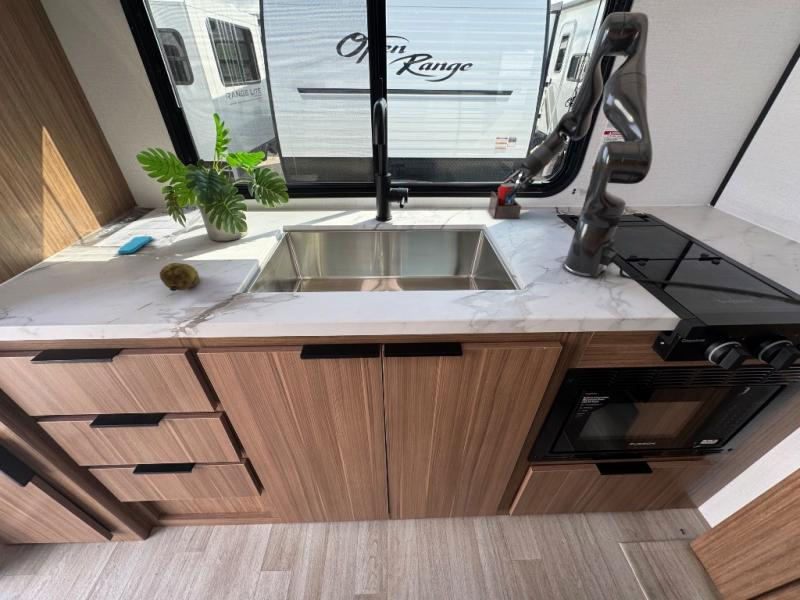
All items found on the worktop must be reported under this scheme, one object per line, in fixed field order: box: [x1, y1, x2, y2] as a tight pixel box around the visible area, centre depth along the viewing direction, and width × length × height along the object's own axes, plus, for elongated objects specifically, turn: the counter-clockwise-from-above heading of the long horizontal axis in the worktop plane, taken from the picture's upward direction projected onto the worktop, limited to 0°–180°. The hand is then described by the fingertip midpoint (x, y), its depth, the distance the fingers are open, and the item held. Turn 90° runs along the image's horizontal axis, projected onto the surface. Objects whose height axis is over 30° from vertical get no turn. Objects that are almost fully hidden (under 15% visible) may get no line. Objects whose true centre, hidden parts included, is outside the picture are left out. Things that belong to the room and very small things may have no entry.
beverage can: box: [497, 182, 517, 206], centre depth 128 cm, size 7×7×12 cm
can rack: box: [488, 191, 522, 220], centre depth 129 cm, size 10×10×8 cm
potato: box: [159, 262, 200, 292], centre depth 82 cm, size 8×13×8 cm, turn 6°
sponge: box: [117, 235, 153, 255], centre depth 105 cm, size 2×12×6 cm
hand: (503, 194), depth 127 cm, fingers closed on beverage can, 7 cm apart
